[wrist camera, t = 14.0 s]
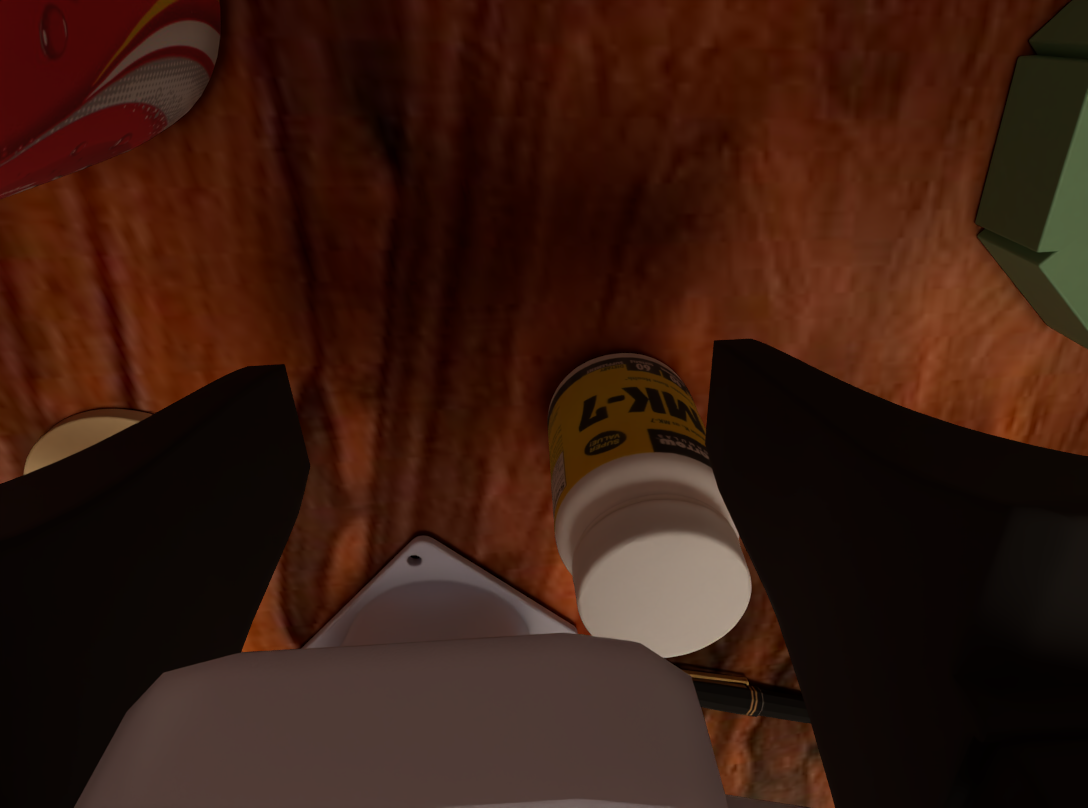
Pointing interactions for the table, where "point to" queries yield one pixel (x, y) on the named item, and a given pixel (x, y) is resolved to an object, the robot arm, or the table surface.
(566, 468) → the supplement bottle
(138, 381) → the table surface
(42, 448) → the peg stand
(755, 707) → the fountain pen
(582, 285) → the table surface
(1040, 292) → the ring
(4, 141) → the soda can
